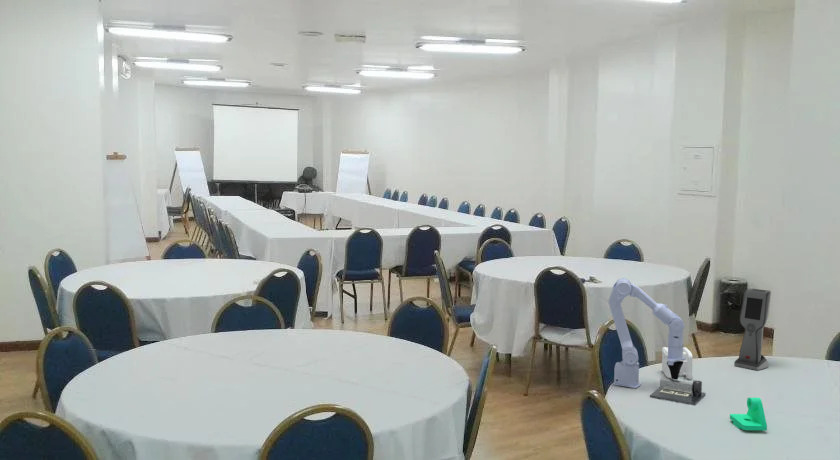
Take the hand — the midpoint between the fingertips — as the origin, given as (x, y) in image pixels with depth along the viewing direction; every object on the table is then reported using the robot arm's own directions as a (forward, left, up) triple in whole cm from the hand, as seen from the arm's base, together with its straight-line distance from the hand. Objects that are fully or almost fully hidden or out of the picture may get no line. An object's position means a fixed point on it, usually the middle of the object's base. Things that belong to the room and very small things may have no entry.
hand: (674, 379), depth 281 cm
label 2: (+5, -9, -4) cm, 11 cm away
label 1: (0, -9, -4) cm, 10 cm away
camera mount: (+33, -32, -4) cm, 46 cm away
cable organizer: (-5, +19, -4) cm, 20 cm away
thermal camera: (+19, +56, -4) cm, 59 cm away
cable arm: (+4, -7, -3) cm, 9 cm away
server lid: (+4, -10, -4) cm, 11 cm away
